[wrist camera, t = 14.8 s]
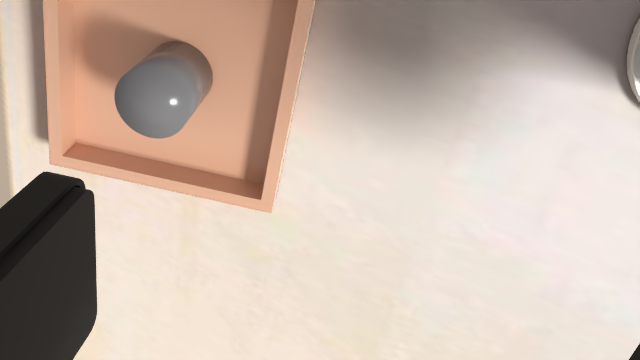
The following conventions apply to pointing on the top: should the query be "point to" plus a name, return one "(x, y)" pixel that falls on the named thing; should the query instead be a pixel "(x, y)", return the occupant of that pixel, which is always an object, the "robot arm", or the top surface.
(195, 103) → the gray metal cylinder
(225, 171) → the terracotta dish
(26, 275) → the robot arm
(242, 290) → the top surface
